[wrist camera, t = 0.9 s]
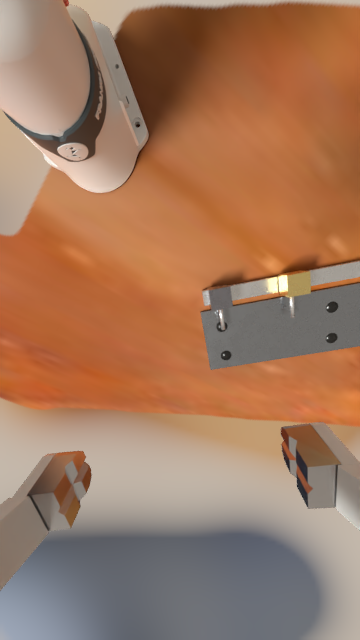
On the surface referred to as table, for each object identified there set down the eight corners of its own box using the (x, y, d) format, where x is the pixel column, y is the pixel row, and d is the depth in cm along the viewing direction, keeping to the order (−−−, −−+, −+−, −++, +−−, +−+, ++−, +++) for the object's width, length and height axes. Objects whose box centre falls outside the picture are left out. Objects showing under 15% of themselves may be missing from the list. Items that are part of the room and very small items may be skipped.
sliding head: (278, 274, 38) (287, 275, 35) (299, 270, 38) (310, 271, 34) (280, 318, 41) (289, 323, 37) (300, 314, 40) (311, 319, 37)
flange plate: (200, 311, 43) (200, 312, 42) (376, 279, 40) (379, 279, 39) (210, 368, 46) (210, 369, 46) (372, 342, 43) (374, 343, 43)
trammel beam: (201, 288, 41) (203, 291, 36) (373, 254, 38) (400, 253, 34) (207, 328, 44) (210, 336, 39) (370, 299, 41) (394, 304, 36)
